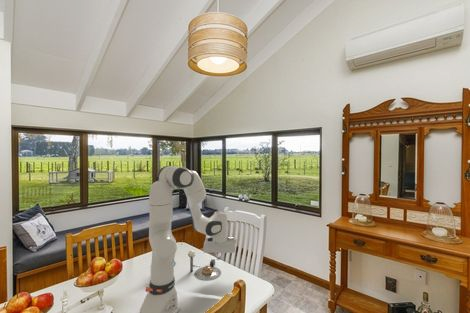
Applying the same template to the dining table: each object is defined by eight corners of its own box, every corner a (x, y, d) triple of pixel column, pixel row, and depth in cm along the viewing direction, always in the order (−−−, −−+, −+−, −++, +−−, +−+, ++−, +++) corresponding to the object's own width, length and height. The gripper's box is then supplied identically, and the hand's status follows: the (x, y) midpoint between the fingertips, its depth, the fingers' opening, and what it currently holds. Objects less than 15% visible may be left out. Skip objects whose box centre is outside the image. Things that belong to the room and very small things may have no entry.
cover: (210, 276, 141) (210, 270, 141) (199, 274, 144) (199, 268, 144) (214, 270, 148) (214, 265, 148) (204, 269, 150) (204, 263, 150)
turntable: (217, 283, 135) (217, 276, 135) (190, 280, 139) (190, 273, 139) (225, 266, 155) (225, 260, 155) (201, 263, 159) (201, 258, 159)
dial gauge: (187, 274, 146) (187, 251, 146) (189, 271, 150) (189, 249, 150) (199, 276, 144) (199, 253, 144) (201, 272, 148) (201, 250, 148)
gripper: (236, 235, 147) (235, 257, 147) (203, 235, 145) (203, 256, 145) (236, 239, 141) (235, 261, 141) (203, 238, 139) (202, 261, 139)
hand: (219, 259), depth 143 cm, fingers closed
